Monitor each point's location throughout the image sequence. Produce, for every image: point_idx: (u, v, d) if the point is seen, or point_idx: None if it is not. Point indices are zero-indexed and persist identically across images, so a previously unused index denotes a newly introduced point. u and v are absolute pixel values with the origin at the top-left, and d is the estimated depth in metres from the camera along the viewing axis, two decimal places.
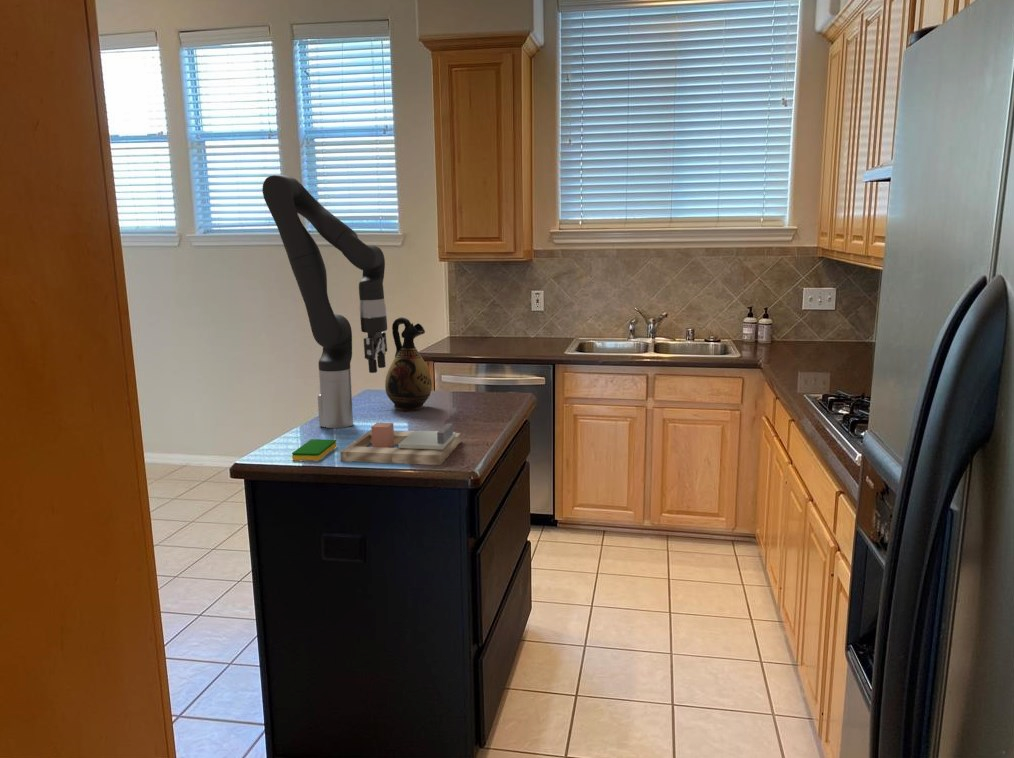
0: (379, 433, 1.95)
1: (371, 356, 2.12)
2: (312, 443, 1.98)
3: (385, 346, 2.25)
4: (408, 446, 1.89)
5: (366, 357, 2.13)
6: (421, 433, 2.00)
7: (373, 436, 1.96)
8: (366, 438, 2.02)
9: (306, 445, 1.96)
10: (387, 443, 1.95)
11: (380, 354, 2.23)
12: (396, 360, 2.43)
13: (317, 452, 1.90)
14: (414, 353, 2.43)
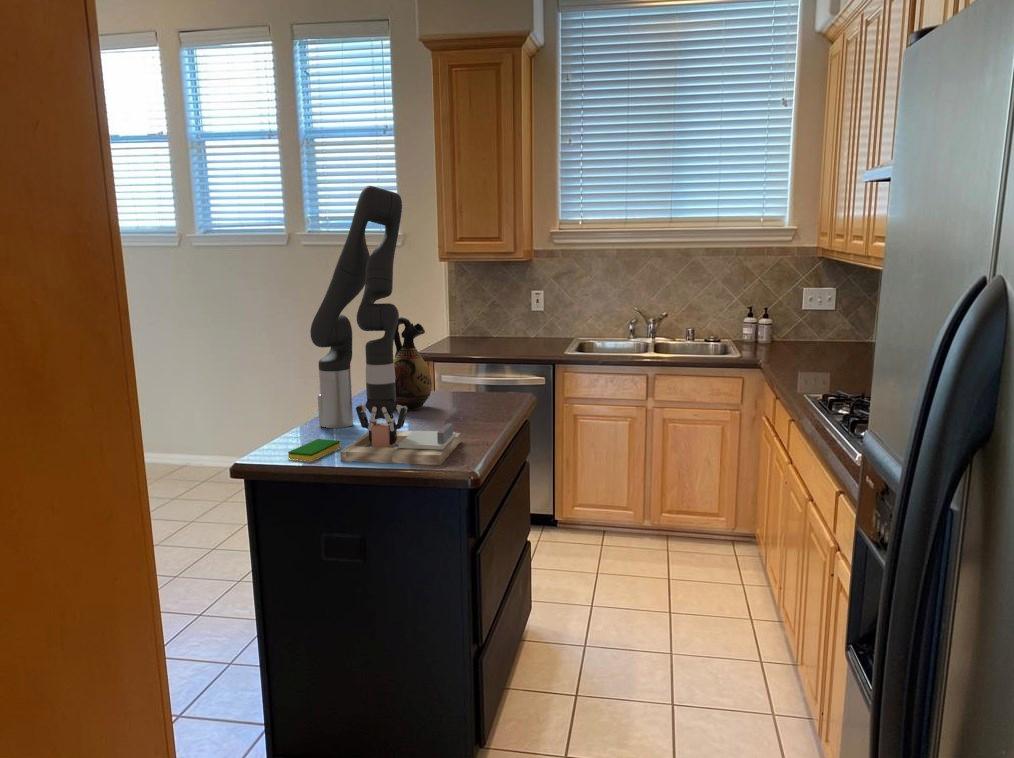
0: (379, 432, 1.95)
1: (402, 424, 1.97)
2: (314, 443, 1.98)
3: (367, 419, 1.99)
4: (408, 446, 1.89)
5: (400, 427, 1.95)
6: (421, 433, 2.00)
7: (373, 436, 1.96)
8: (366, 438, 2.02)
9: (307, 445, 1.97)
10: (387, 443, 1.95)
11: None
12: (396, 360, 2.43)
13: (311, 452, 1.89)
14: (414, 353, 2.43)
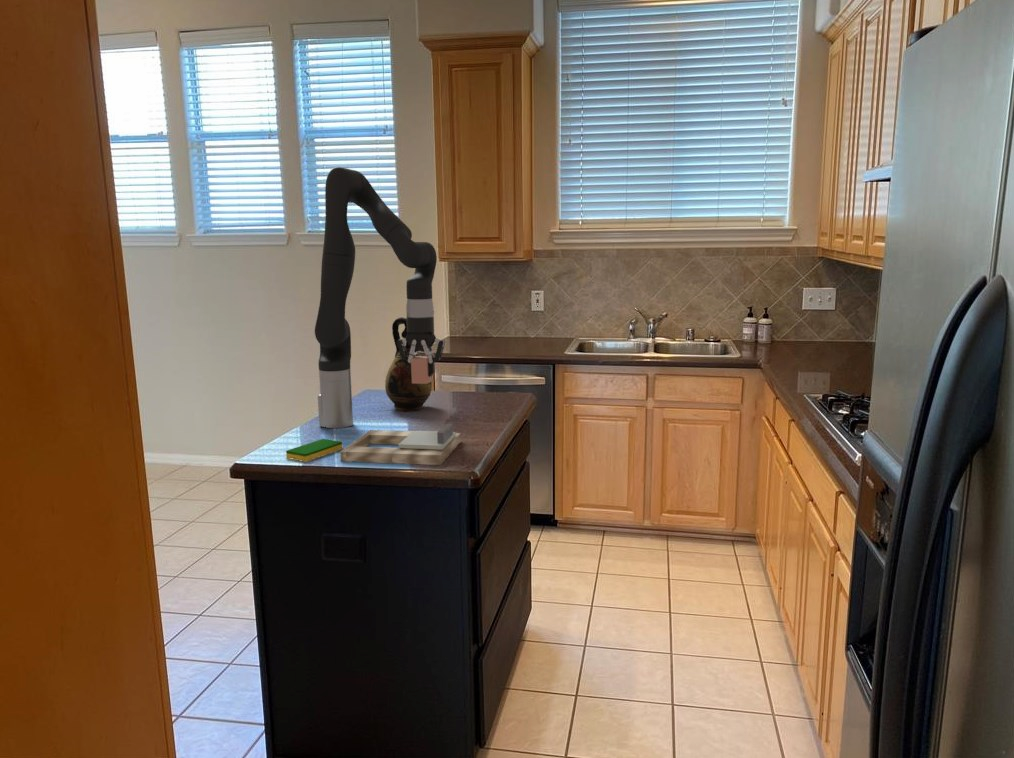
0: (418, 364, 2.08)
1: (440, 357, 2.09)
2: (316, 443, 1.99)
3: None
4: (408, 446, 1.89)
5: (438, 359, 2.08)
6: (421, 433, 2.00)
7: (412, 368, 2.08)
8: (366, 438, 2.02)
9: (308, 444, 1.97)
10: (426, 374, 2.08)
11: None
12: (396, 360, 2.43)
13: (306, 452, 1.89)
14: None
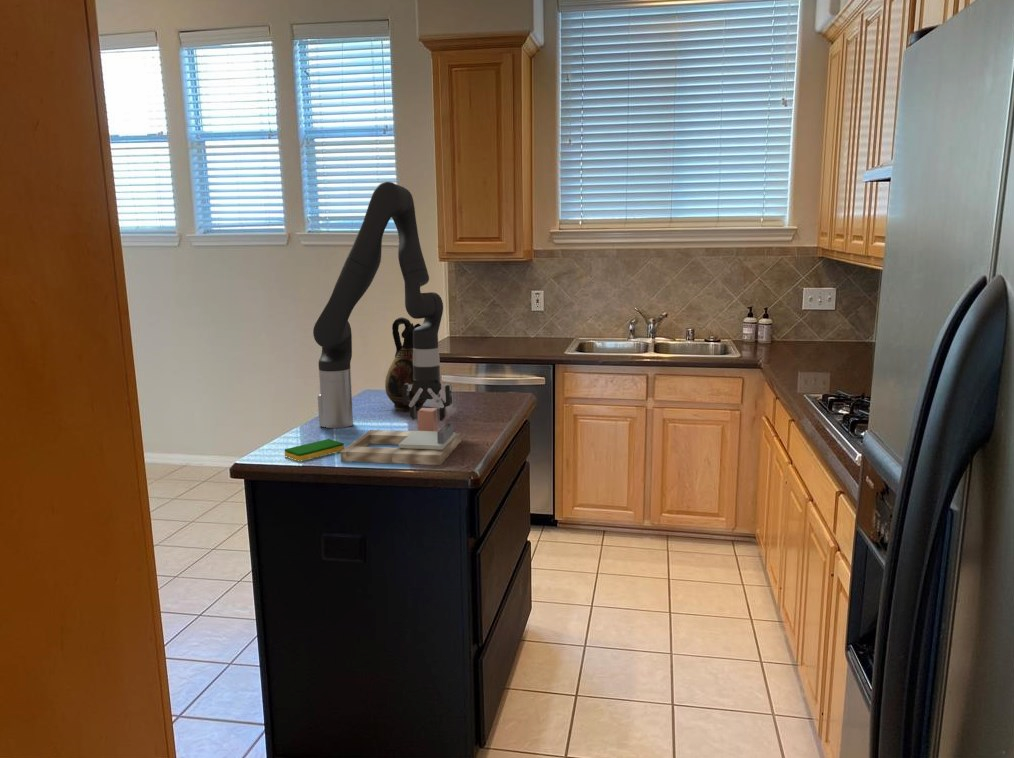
0: (425, 417, 2.12)
1: (451, 402, 2.13)
2: (318, 443, 1.98)
3: None
4: (408, 446, 1.89)
5: (450, 404, 2.12)
6: (421, 433, 2.00)
7: (419, 420, 2.13)
8: (366, 438, 2.02)
9: (310, 444, 1.98)
10: (432, 426, 2.13)
11: (414, 405, 2.15)
12: (396, 360, 2.43)
13: (301, 452, 1.90)
14: None
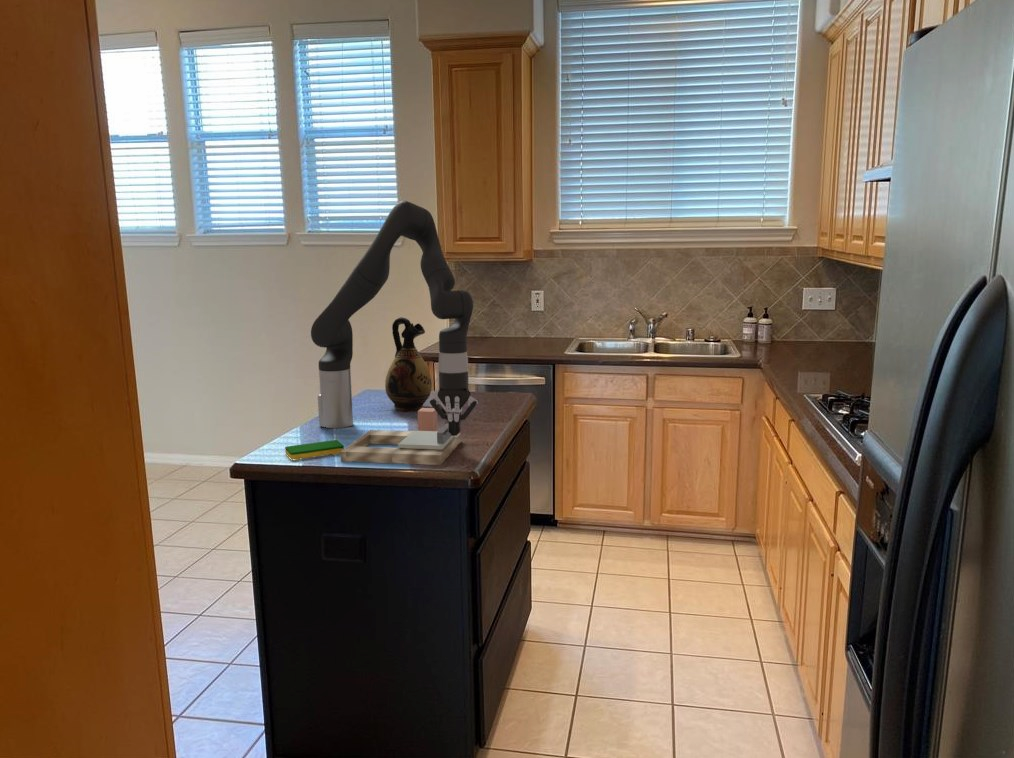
0: (425, 417, 2.12)
1: None
2: (321, 443, 1.98)
3: (444, 410, 1.95)
4: (408, 446, 1.89)
5: (465, 417, 1.92)
6: (421, 433, 2.00)
7: (419, 420, 2.13)
8: (366, 438, 2.02)
9: (313, 443, 1.98)
10: (432, 426, 2.13)
11: (453, 420, 1.93)
12: (396, 360, 2.43)
13: (294, 451, 1.91)
14: (414, 353, 2.43)
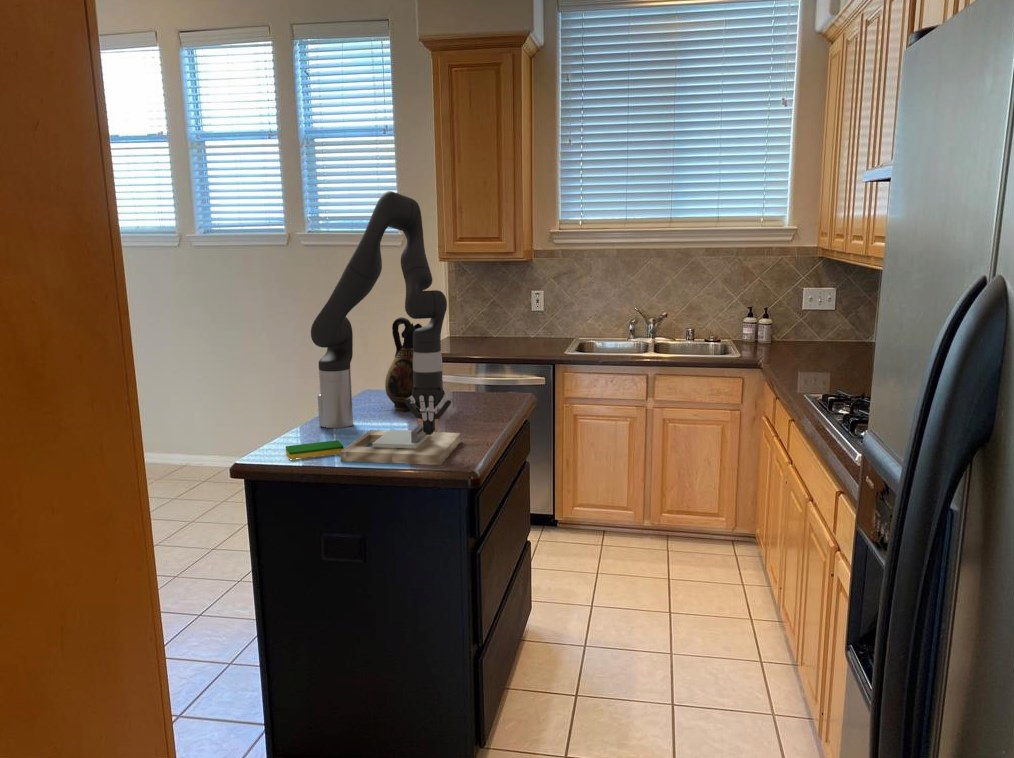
0: None
1: (441, 414, 1.95)
2: (322, 443, 1.98)
3: (419, 409, 1.96)
4: (382, 445, 1.90)
5: (439, 416, 1.93)
6: (396, 432, 2.01)
7: (419, 420, 2.13)
8: (366, 438, 2.02)
9: (313, 443, 1.98)
10: None
11: (428, 419, 1.95)
12: (396, 360, 2.43)
13: (293, 451, 1.91)
14: None
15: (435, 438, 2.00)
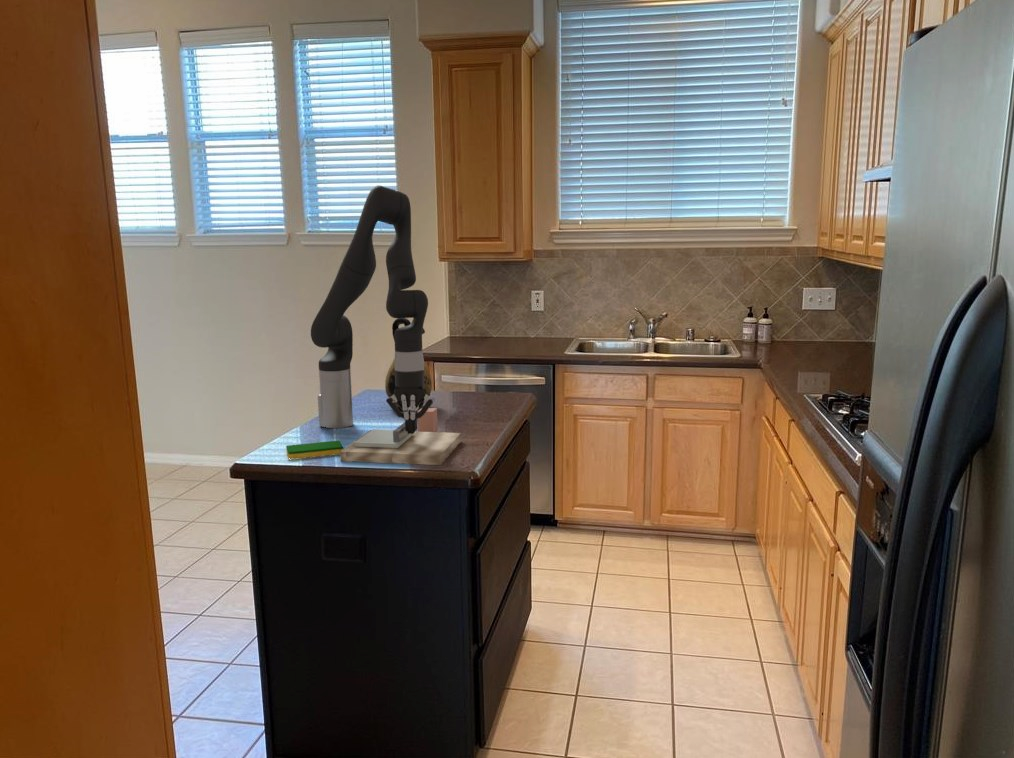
0: (425, 417, 2.12)
1: (423, 413, 1.95)
2: (322, 443, 1.98)
3: (401, 408, 1.97)
4: (364, 444, 1.91)
5: (421, 415, 1.94)
6: (379, 432, 2.02)
7: (419, 420, 2.13)
8: None
9: (314, 443, 1.98)
10: (432, 426, 2.13)
11: (410, 418, 1.95)
12: None
13: (292, 451, 1.91)
14: None
15: (435, 438, 2.00)
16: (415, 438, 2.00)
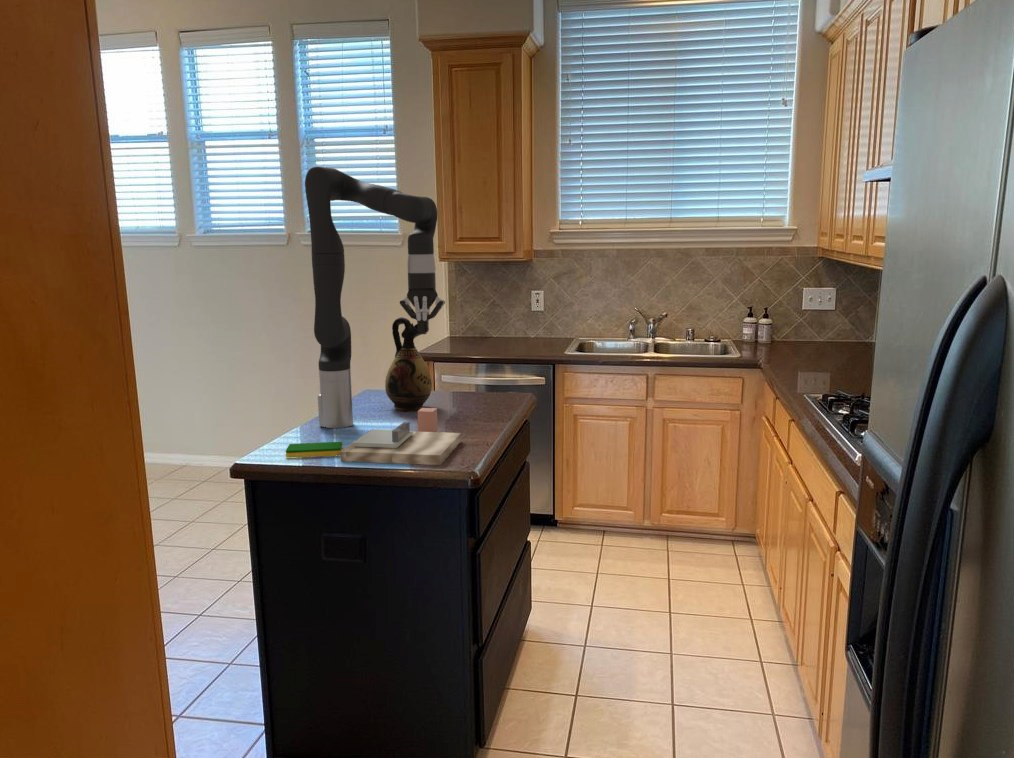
0: (425, 417, 2.12)
1: (434, 315, 2.08)
2: (324, 444, 1.98)
3: (413, 310, 2.09)
4: (363, 444, 1.91)
5: (432, 316, 2.06)
6: (378, 432, 2.02)
7: (419, 420, 2.13)
8: None
9: (316, 443, 1.98)
10: (432, 426, 2.13)
11: (422, 319, 2.08)
12: (396, 360, 2.43)
13: (289, 450, 1.92)
14: (414, 353, 2.43)
15: (435, 438, 2.00)
16: (415, 438, 2.00)
